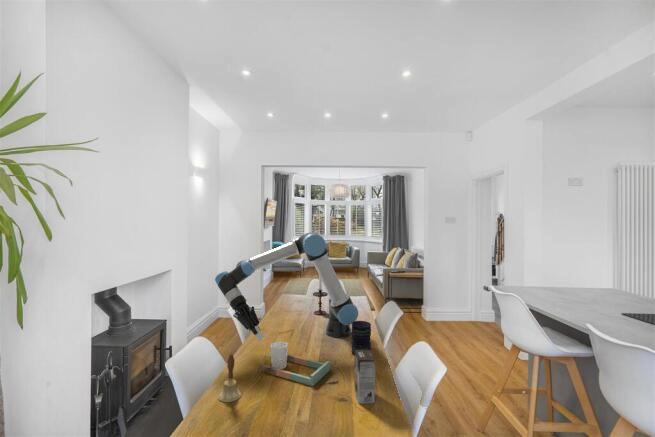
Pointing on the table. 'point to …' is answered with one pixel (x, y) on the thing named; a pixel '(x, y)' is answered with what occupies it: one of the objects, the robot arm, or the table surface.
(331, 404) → the table surface
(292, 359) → the lane walls
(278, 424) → the table surface
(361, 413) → the table surface
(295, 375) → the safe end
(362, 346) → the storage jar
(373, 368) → the coffee box
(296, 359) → the walls
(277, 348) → the white cup
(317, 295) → the candlestick
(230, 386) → the hand bell
